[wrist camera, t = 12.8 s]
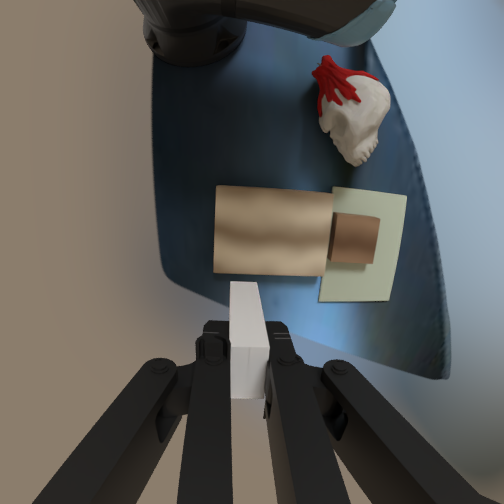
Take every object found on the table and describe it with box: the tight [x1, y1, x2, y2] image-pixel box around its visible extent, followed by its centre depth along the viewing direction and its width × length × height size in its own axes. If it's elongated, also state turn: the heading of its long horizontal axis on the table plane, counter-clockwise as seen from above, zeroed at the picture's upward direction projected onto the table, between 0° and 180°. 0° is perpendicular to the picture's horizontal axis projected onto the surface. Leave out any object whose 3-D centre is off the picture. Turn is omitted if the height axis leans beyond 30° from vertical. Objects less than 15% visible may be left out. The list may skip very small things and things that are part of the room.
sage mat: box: [318, 186, 407, 301], centre depth 45 cm, size 18×13×1 cm
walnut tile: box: [327, 212, 380, 264], centre depth 43 cm, size 7×7×2 cm
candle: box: [312, 55, 390, 167], centre depth 35 cm, size 9×11×15 cm
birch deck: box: [214, 185, 334, 276], centre depth 42 cm, size 12×16×2 cm
